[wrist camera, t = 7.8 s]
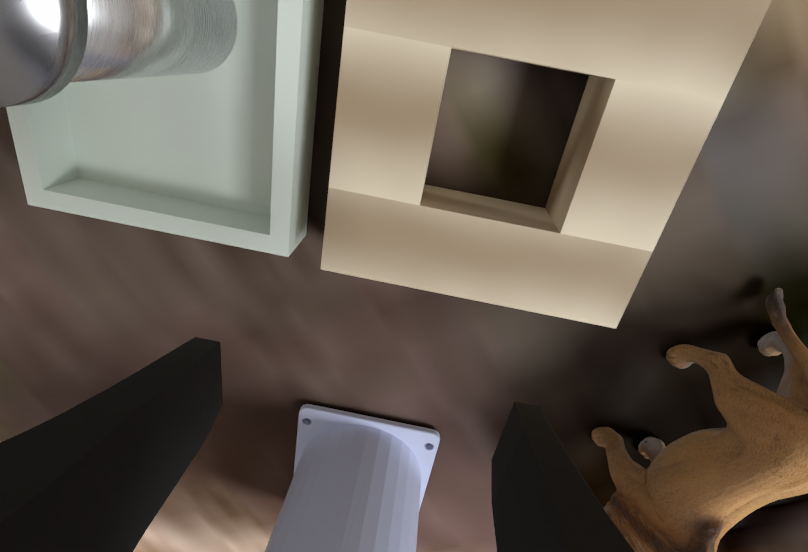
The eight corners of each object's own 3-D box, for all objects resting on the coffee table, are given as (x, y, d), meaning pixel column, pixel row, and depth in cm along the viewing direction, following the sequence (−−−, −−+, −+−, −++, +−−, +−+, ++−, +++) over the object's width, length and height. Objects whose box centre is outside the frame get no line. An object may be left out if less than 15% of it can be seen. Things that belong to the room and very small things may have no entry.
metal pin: (248, 94, 17) (77, 127, 9) (129, 73, 17) (-138, 86, 10) (248, -55, 15) (25, -175, 7) (111, -79, 15) (-254, -222, 7)
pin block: (594, 292, 20) (615, 328, 18) (338, 241, 20) (320, 269, 18) (725, -15, 15) (785, -31, 12) (374, -83, 15) (357, -113, 12)
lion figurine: (637, 502, 26) (719, 701, 18) (553, 475, 26) (599, 665, 18) (821, 299, 19) (1080, 471, 11) (711, 260, 19) (897, 408, 11)
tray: (306, 235, 20) (288, 257, 18) (74, 188, 20) (28, 204, 18) (343, -260, 13) (321, -325, 11) (-16, -328, 13) (-111, -405, 11)
